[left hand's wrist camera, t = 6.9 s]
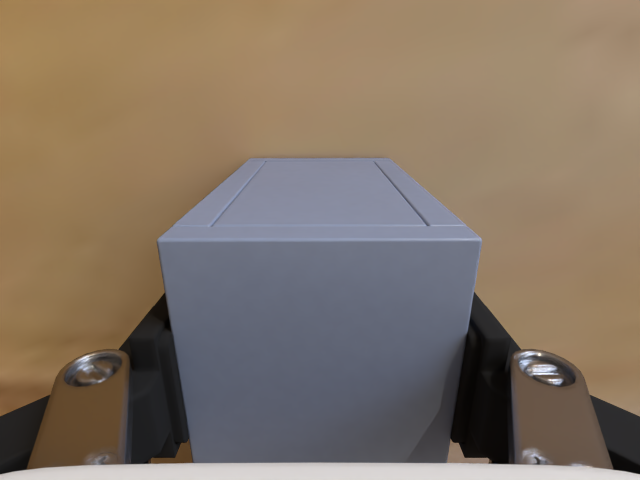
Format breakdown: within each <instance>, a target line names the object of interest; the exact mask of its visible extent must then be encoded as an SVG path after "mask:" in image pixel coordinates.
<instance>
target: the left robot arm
mask: <svg viewBox="0 0 640 480" xmlns="http://www.w3.org/2000/svg"><path fill="white" fill-rule="evenodd" d="M188 439H189V434H188V428H187V422H186V416H185V410H184V403H183V397H182V391H181V385H180V379H179V373H178V366H177V360H176V354H175V348H174V342H173V335H172V331H171V325H170V319H169V313H168V307H167V301H166V295H165V293H164V294H163V296H162V297H161V298H160V299H159V301H158V302H157V303H156V304H155V306H153V307H152V309H151V310H150V311H149V312H148V314H147V315H146V316H145V317H144V319H143V320H142V321H141V322H140V324H139V325H138V326H137V327H136V329H135V330H134V331H133V332H132V334H131V335H130V336H129V337H128V338H127V340H126V341H125V342H124V343H123V345H122V346H121V347H120V348H119V350H117V349H104V350H97V351H94V352H91V353H87V354H85V355H82V356H80V357H78V358H76V359H74V360H73V361H71V362H70V363H68V364H67V365H66V366H64V367H63V368H62V369H61V370H60V371H59V373H58V375H57V377H56V379H55V382H54V385H53V388H52V391H51V395H48V396H46V397H44V398H42V399H39V400H37V401H35V402H32V403H30V404H28V405H26V406H23V407H21V408H19V409H16V410H14V411H12V412H10V413H7V414H5V415H3V416H0V480H640V417H639V416H637V415H635V414H632V413H630V412H628V411H626V410H623V409H621V408H619V407H616V406H614V405H612V404H610V403H607V402H605V401H603V400H600V399H598V398H596V397H594V396H591V395H589V391H588V388H587V385H586V382H585V379H584V377H583V375H582V373H581V371H580V370H579V369H578V368H577V367H576V366H574V365H573V364H572V363H570V362H569V361H567V360H566V359H564V358H562V357H560V356H558V355H555V354H553V353H549V352H546V351H543V350H536V349H523V350H521V349H520V348H519V346H518V345H517V344H516V343H515V341H514V340H513V339H512V338H511V336H510V335H509V334H508V333H507V331H506V330H505V329H504V328H503V326H502V325H501V324H500V323H499V322H498V320H497V319H496V318H495V317H494V315H493V314H492V313H491V312H490V310H489V309H488V308H487V307H486V306H485V305H484V304H483V302H482V301H481V300H480V299H479V297H478V296H477V295H476V294H475V292H474V294H473V301H472V307H471V313H470V319H469V326H468V332H467V338H466V345H465V351H464V357H463V363H462V370H461V376H460V382H459V388H458V395H457V401H456V407H455V413H454V420H453V426H452V432H451V440H452V441H453V442H454V443H459V445H460V447H461V450H462V452H463V455H464V457H465V458H489V464H467V463H173V464H151V458H152V457H153V458H175V456H176V454H177V451H178V449H179V446H180V444H181V443H186V442H187V441H188Z"/></svg>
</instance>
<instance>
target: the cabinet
mask: <svg viewBox="0 0 640 480" xmlns="http://www.w3.org/2000/svg"><path fill="white" fill-rule="evenodd" d="M481 244H482V239H481V238H480V237H479V236H478V235H477V234H476V233H474V232H473V231H472V230H471V229H470V228H469V227H467V226H466V224H464V223H463V222H462V221H461V220H460V219H459V218H457V217H456V216H455V215H454V214H453V213H452V212H451V211H449V210H448V209H447V208H446V207H445V206H444V205H442V204H441V203H440V202H439V201H438V200H437V199H436V198H434V197H433V196H432V195H431V194H430V193H429V192H428V191H426V190H425V189H424V188H423V187H422V186H421V185H419V184H418V183H417V182H416V181H415V180H414V179H413V178H411V177H410V176H409V175H408V174H407V173H406V172H404V171H403V170H402V169H401V168H400V167H399V166H398V165H396V164H395V163H394V162H393V161H392V160H391V159H390V158H250V159H249V160H248V161H247V162H245V163H244V164H243V165H242V166H241V167H240V168H238V169H237V170H236V171H235V172H234V173H233V174H231V175H230V176H229V177H228V178H227V179H226V180H225V181H223V182H222V183H221V184H220V185H219V186H218V187H216V188H215V189H214V190H213V191H212V192H211V193H210V194H208V195H207V196H206V197H205V198H204V199H203V200H201V201H200V202H199V203H198V204H197V205H196V206H195V207H193V208H192V209H191V210H190V211H189V212H188V213H186V214H185V215H184V216H183V217H182V218H181V219H179V220H178V221H177V222H176V223H175V224H174V225H173V226H172V227H171V228H170V229H168V230H167V231H166V232H165V233H164V234H163V235H161V236H160V237H159V238H158V239H157V246H158V252H159V258H160V264H161V270H162V276H163V283H164V289H165V295H166V301H167V307H168V313H169V319H170V325H171V331H172V335H173V342H174V348H175V354H176V360H177V366H178V373H179V379H180V385H181V391H182V397H183V403H184V410H185V416H186V422H187V428H188V434H189V441H190V447H191V453H192V459H193V463H447V458H448V451H449V445H450V439H451V432H452V426H453V420H454V413H455V407H456V401H457V395H458V388H459V382H460V376H461V370H462V363H463V357H464V351H465V345H466V338H467V332H468V326H469V319H470V313H471V307H472V301H473V294H474V288H475V282H476V275H477V269H478V263H479V257H480V250H481Z"/></svg>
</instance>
